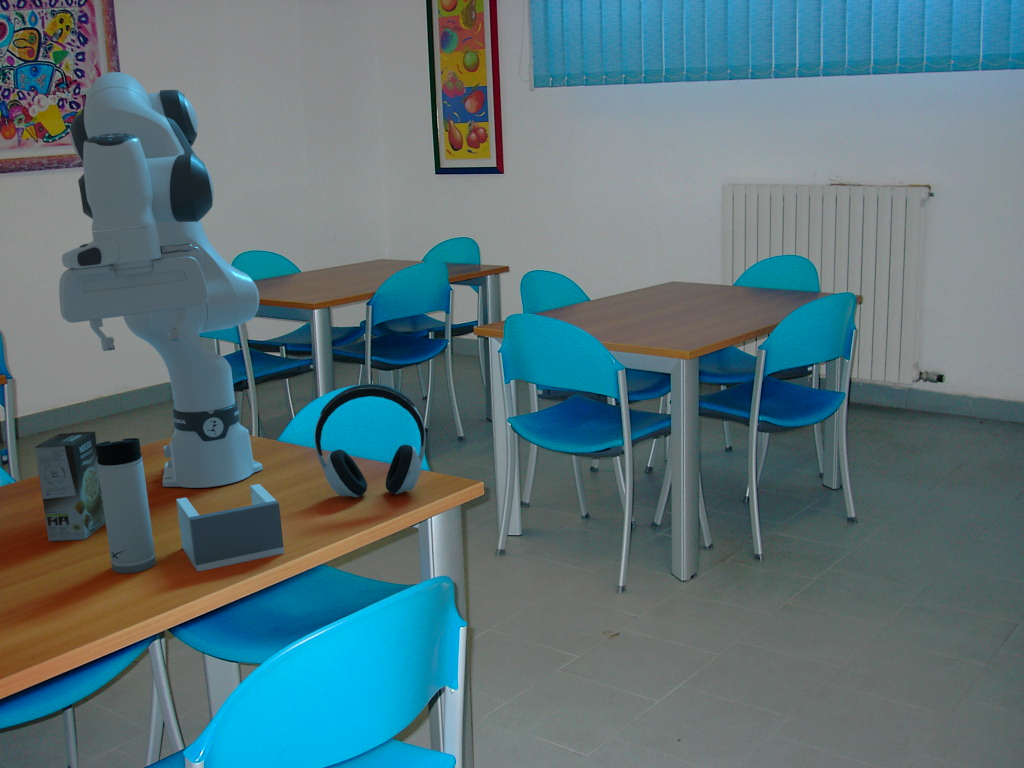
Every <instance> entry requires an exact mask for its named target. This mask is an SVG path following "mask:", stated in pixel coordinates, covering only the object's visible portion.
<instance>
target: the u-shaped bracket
mask: <svg viewBox="0 0 1024 768" xmlns="http://www.w3.org/2000/svg"><path fill="white" fill-rule="evenodd" d="M249 487H250V498H251V505H246V506H241V507H236V508H231V509H226V510H221V511H215V512H214V511H213V512H211V513H205V514H201V515H200V514H199V513H198V511H197V510H196V509H195V507H194V506H193V504H192V503H191V502H190V500H189V499H188V498H187V497H182V498H176V507H177V515H178V522H179V531H180V538H181V539H180V540H181V546H182V549H183V551H184V552H185V554H186V556H187V558H188V559H189V561H190V562H191V564H192V565H193V567H194V568H195V570H196V571H197V572H202V571H203V572H204V571H207V570H212V569H217V568H223V567H227V566H232V565H235V564H240V563H245V562H249V561H254V560H259V559H263V558H269V557H273V556H277V555H282V554H285V547H284V538H283V536H284V535H283V529H282V520H281V519H282V517H281V511H280V502H278V500H276V498H275V497H273V496H272V494H270V493H269V491H267V490H266V489H265V488H264V487H263V486H262V485H261V484H260V483H257V484H252V485H249ZM197 572H196V573H197Z"/></svg>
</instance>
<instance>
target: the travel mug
mask: <svg viewBox="0 0 1024 768" xmlns="http://www.w3.org/2000/svg"><path fill="white" fill-rule="evenodd" d="M140 442H141V441H140V438H138V437H137V438H135V437H133V438H132V437H130V438H122V440H117V441H112V442H111V441H110V440H108V441H103V442H99V443H98V442H97V444H96V445H95V448H96V455H97V457H98V458H97V465H98V472H99V479H100V486H101V493H102V500H103V507H104V514H105V521H106V523H105V528H106V534H107V542H108V547H109V548H108V549H109V554H110V555H109V556H110V559H111V561H110V564H111V569H112V571H113V572H115V573H117V574H125V575H126V574H136V573H140V572H143V571H146V570H149V569H151V568H153V566H155V564H156V561H157V559H156V553H155V545H154V537H153V529H152V522H151V515H150V513H151V512H150V507H149V506H150V505H149V499H148V493H147V484H146V476H145V469H144V462H143V455H142V452H141V450H142V449H141V443H140Z"/></svg>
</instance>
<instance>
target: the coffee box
mask: <svg viewBox="0 0 1024 768" xmlns="http://www.w3.org/2000/svg"><path fill="white" fill-rule="evenodd" d="M96 444H98V442H97V438H96V431H77V432H70V433H69V432H68V433H59V434H57V435H55V436H53V437H51V438H49V439H47V440H45V441H43V442H41V443H39V444H37V445H35V446H34V448H35V455H36V462H37V468H38V477H39V483H40V490H41V495H42V496H41V497H42V503H43V509H44V518H45V525H46V530H47V531H46V533H47V537H48V541H49V542H57V541H58V542H60V541H61V542H63V541H84V540H86V539H88V537H90V536H91V535H92V534H93V533H95V532H97V531H98V530H99V529H100V528H101V527H102V526H104V525H106V521H105V514H104V507H103V500H102V493H101V486H100V479H99V472H98V465H97V458H98V457H97V455H96V448H95V445H96Z"/></svg>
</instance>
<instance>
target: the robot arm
mask: <svg viewBox="0 0 1024 768" xmlns="http://www.w3.org/2000/svg"><path fill="white" fill-rule="evenodd" d="M86 95H87V96H86V98H85V102H84V108H82V109H81V110H80V113H79V114H77V115H76V116H75V117H74V119H73V120H72V122H71V124H70V141H71V145H72V148H73V150H74V152H75V154H76V155H77V156H78V158H79V159H80V160H81V161H82V164H83V174H82V175H81V176H80V177H79V178H78V181H77V182H78V187H79V192H80V199H81V206H82V212H83V214H84V215H86V216H87V217H89V218H90V219H91V220H92V224H91V233H92V241H91V242H88V243H83V244H81V245H79V246H78V247H76V248H73V249H72V250H69V251H66V252H64V253H63V254H62V255H61V261H62V265H63V267H64V268H67V269H66V270H65V271H63V273H62V274H61V276H60V278H59V283H58V284H59V285H58V287H59V289H58V294H59V296H58V297H59V307H60V308H59V310H60V315H61V317H62V319H64V320H65V321H67V322H68V323H71V324H73V323H80V322H81V323H82V322H87V321H88V322H89V327H90V329H91V330H92V331H93V332H94V334H95V335H96V337H98V338H99V339H100V343H101V349H102V351H103V352H109V351H114V350H115V349H116V346H115V344H114V343H115V340H114V337H113V336H106V334H105V333H104V332H103V331H102V329H100V328H103V326H104V324H103V320H104V319H105V320H106V319H111V318H119V317H123V321H124V322H125V325H126V326H127V328H128V329H129V330H130V331H131V332H132V333H133V334H134V335H135V336H137V338H139V339H142V340H143V341H145V342H146V343H147V344H149V345H150V346H151V347H153V348H154V350H155V351H156V352H157V353H158V354H159V355H160V358H161V359H162V360H163V363H164V364H165V366H166V369H167V371H168V375H169V380H170V385H171V391H172V397H173V398H172V399H173V405H174V406H173V407H174V408H173V409H172V420H173V427H174V429H175V430H174V433H173V435H172V437H171V440H170V441H169V444H168V445H167V444H166V445H164V446H163V454H164V458H166V459H169V458H171V459H170V460H167V462H166V463H164V468H163V469H164V470H163V475H162V487H166V488H168V487H169V488H172V487H173V488H174V487H176V488H177V487H181V488H189V489H190V488H191V489H192V488H193V489H194V488H196V489H199V488H200V489H201V488H212V487H219V486H225V485H229V484H233V483H236V482H240V481H242V480H245V479H247V478H248V477H250V476H251V475H252V474H254V473H256V472H260V471H261V470H263V468H264V467H263V464H262V463H261V462H258V461H256V460H254V456H253V455H254V454H253V451H252V442H251V437H250V432H249V429H247V428H246V427H245V426H243V425H242V424H240V422H239V421H240V409H239V405H238V402H237V401H236V400H235V391H234V389H235V388H234V383H233V373H232V372H233V371H232V366H231V365H230V363H229V362H228V360H227V359H226V358H225V357H224V356H223V355H221V354H218V353H216V352H214V351H211V350H208V349H205V347H203V344H202V342H201V340H200V334H202V333H207V332H208V333H209V332H215V331H221V330H226V329H232V328H235V327H238V326H239V325H240V326H241V325H243V324H245V323H247V322H250V321H252V320H253V319H254V317H255V316H256V315H257V312H258V310H259V306H260V293H259V289H258V287H257V284H256V283H255V282H254V280H253V279H252V277H250V276H249V275H248V273H245V272H244V271H241V270H239V269H238V268H235V267H234V266H233V265H232V264H230V263H229V262H227V261H226V259H224V258H223V257H222V256H221V255H220V254H219V253H218V251H217V250H216V249H215V248H214V246H213V245H212V244H211V242H210V240H209V238H208V236H207V234H206V232H205V230H204V227H203V224H202V222H201V220H202V219H203V218H204V217H205V216H206V215H207V214H208V213H209V212H210V210H211V209H212V208H213V203H214V196H215V195H214V194H215V193H214V191H215V190H214V184H213V180H212V177H211V174H210V172H209V170H208V168H207V166H206V164H205V163H204V161H203V160H201V159H200V158H199V157H198V156H197V154H196V153H195V151H194V149H193V148H192V146H193V145H194V143H195V141H196V139H197V137H198V116H197V113H196V110H195V108H194V106H193V105H192V103H191V101H189V99H188V98H186V96H185V94H184V93H183V92H182V91H179V90H178V89H162V90H160V91H159V92H152V93H148V92H147V91H146V89H145V88H144V86H143V85H142V84H141V83H140V82H139V80H137V79H136V78H135V77H133V76H132V75H130V74H128V73H125V72H118V71H111V72H107V73H105V74H104V73H103V74H102V75H100V76H99V77H98V78H97V79H95V80H94V82H93V83H92V84H91V87H90V88H89V91H88V93H87V94H86Z"/></svg>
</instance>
